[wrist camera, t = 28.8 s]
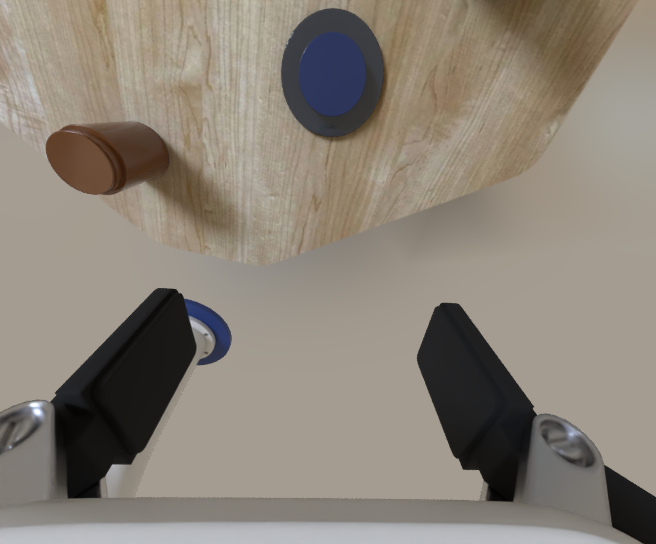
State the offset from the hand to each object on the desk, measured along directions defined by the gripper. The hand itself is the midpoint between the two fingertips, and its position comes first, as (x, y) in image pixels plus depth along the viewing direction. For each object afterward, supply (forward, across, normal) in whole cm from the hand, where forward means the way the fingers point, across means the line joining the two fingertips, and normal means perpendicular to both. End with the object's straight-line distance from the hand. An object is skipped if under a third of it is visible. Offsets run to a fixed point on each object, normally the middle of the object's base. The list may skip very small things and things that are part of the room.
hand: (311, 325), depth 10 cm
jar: (+28, +22, -1) cm, 36 cm away
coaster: (+28, -1, -10) cm, 30 cm away
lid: (+26, -1, -10) cm, 28 cm away
